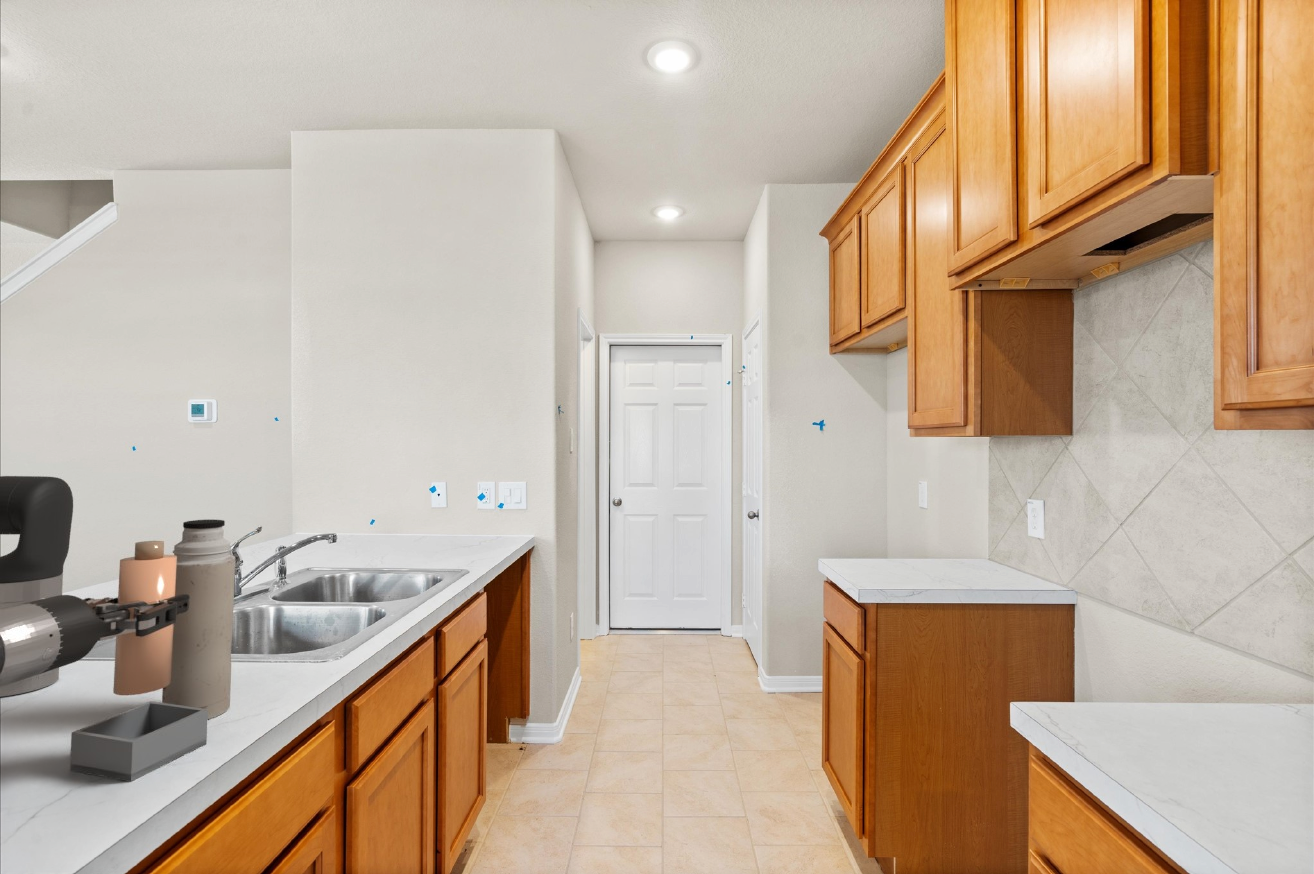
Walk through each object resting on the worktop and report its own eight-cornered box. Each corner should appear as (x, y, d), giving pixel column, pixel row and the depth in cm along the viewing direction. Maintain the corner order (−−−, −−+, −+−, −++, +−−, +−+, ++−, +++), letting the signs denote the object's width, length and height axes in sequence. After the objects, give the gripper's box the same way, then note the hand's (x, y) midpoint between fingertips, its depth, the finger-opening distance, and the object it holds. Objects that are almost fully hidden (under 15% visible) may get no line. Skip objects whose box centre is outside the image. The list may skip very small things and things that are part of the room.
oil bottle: (101, 692, 74) (109, 544, 75) (148, 676, 79) (154, 538, 80) (136, 697, 73) (144, 546, 73) (181, 681, 78) (188, 540, 79)
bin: (70, 770, 73) (71, 732, 73) (150, 734, 82) (151, 701, 82) (131, 781, 71) (132, 742, 71) (206, 743, 80) (207, 709, 80)
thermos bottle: (151, 728, 84) (159, 524, 84) (173, 704, 91) (181, 517, 92) (220, 720, 86) (227, 523, 87) (236, 698, 94) (243, 516, 94)
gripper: (91, 607, 62) (218, 574, 79) (-42, 601, 63) (112, 570, 80) (87, 681, 62) (216, 632, 79) (-46, 675, 62) (110, 627, 79)
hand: (163, 601), depth 79 cm, fingers closed on oil bottle, 5 cm apart
